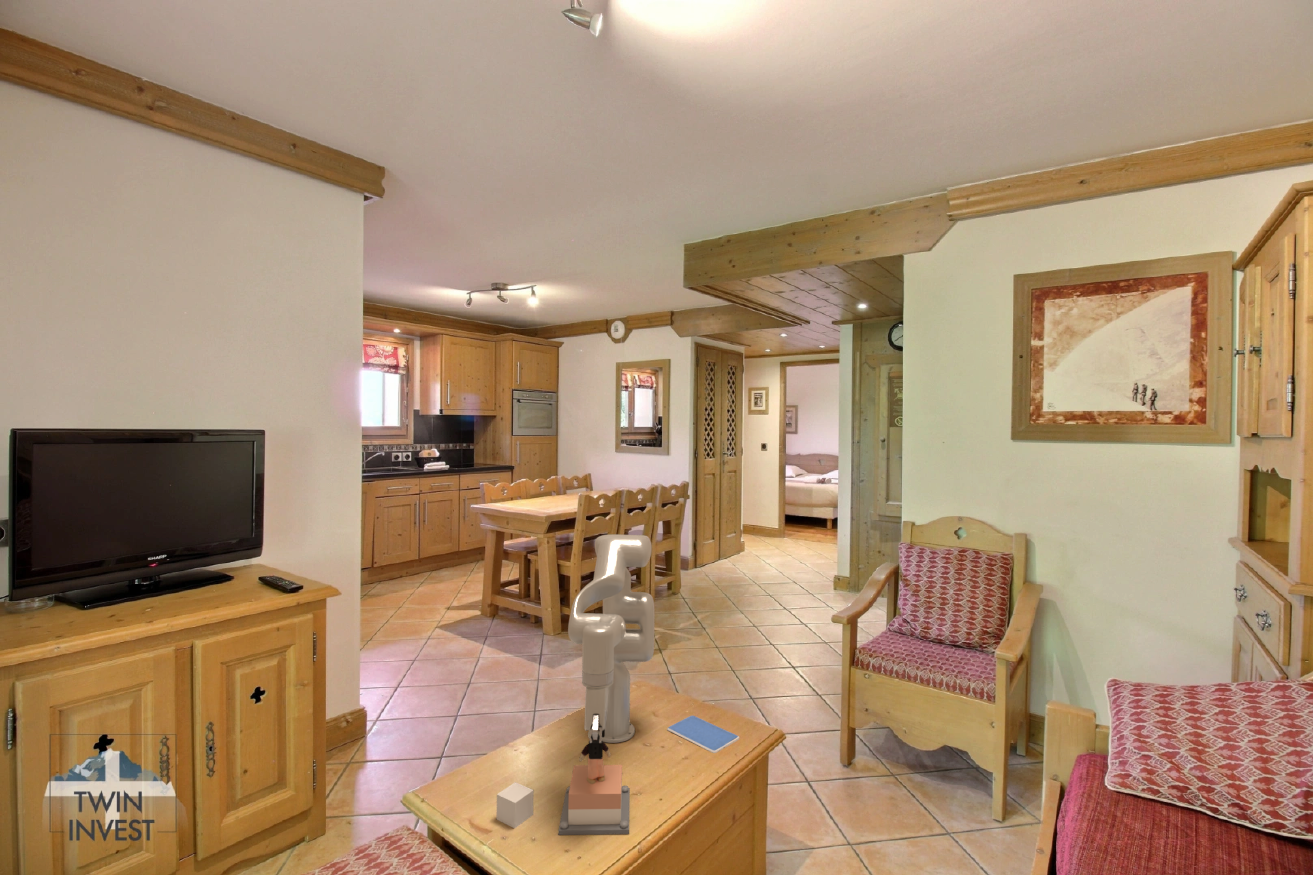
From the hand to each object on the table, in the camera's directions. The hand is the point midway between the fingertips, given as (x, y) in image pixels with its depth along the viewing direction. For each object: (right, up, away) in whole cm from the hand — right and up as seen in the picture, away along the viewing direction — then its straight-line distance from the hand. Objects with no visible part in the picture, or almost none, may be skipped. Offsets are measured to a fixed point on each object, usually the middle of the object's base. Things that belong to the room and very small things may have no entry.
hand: (596, 747), depth 142 cm
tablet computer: (+28, -17, +38) cm, 50 cm away
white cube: (-19, -16, -2) cm, 25 cm away
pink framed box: (0, -16, 0) cm, 16 cm away
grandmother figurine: (-1, -8, -1) cm, 8 cm away
